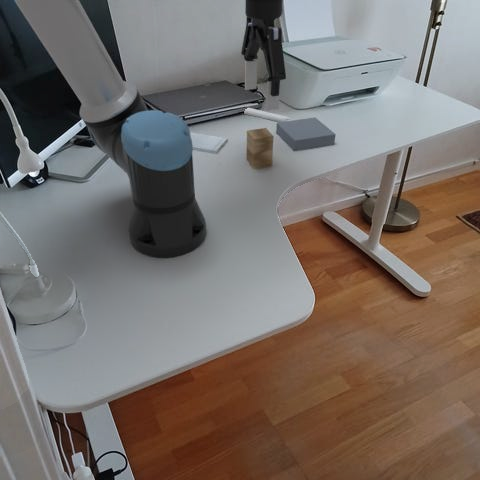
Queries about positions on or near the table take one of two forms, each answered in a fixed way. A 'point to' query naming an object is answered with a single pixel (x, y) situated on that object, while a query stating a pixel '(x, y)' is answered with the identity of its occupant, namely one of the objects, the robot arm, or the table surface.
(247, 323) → the table surface
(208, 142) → the hard drive
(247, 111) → the marker
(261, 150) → the oak block
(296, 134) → the grey base
